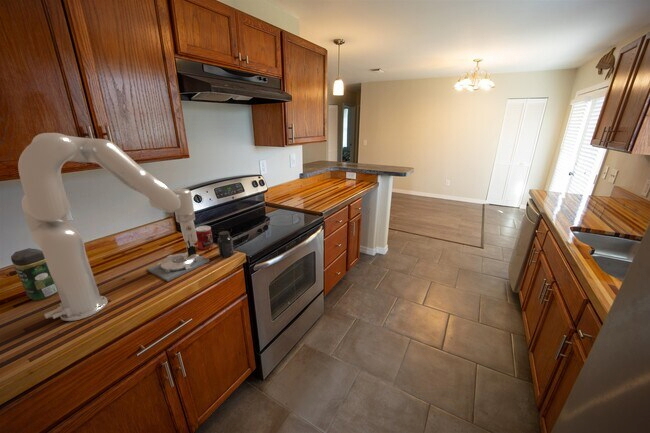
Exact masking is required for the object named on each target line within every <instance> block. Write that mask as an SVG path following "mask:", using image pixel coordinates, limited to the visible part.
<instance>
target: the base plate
mask: <svg viewBox="0 0 650 433" xmlns="http://www.w3.org/2000/svg"><path fill="white" fill-rule="evenodd" d="M194 256H197V257H198V261H195V263H194V264H193V265H192V266H190V268H189V269H187V270H185V269H183V270H180V271H174V272H170V273H165V271H164V270H162V268H158V263H157V264H155V265H152V266H149V267H147V268H146V271H147V272H149V273H151V274H153V275H155V276H157V277H158V278H160V279H162V280H164V281H166V282H169V281H172V280H174V279H176V278H178V277H180V276H182V275H185V274H187V273H189V272H192V271H193V270H195V269H197V268H199V267H201V266H203V265H205V263H206V264H208V263H210V262H211V260H210V259H209V258H207V257H204V256H201V255H199V254H197V253H196V254H194ZM209 261H210V262H209ZM207 262H208V263H207Z"/></svg>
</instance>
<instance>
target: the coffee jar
mask: <svg viewBox="0 0 650 433" xmlns="http://www.w3.org/2000/svg"><path fill="white" fill-rule="evenodd" d="M10 259H11V262H12V265H13V267H14V269H15V272H16V273H17V276H18V278H19V280H20V283H21V285H22V287H23V289H24V292H25V293H26V295H27V297H28V298H29V299H31V300H33V301H41V300H44V299H47V298H50V297H53V296H54V295H55V294H58V291H57V289H56V286H55V284H54V281H53V279H52V276H51V274H50V272H49V269H48V266H47V263H46V260H45V257H44V254H43V252H42V250H41V249H37V248H30V247H29V248H26V249H21V250H17V251H15V252H14V253H13V254H11V256H10Z"/></svg>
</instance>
